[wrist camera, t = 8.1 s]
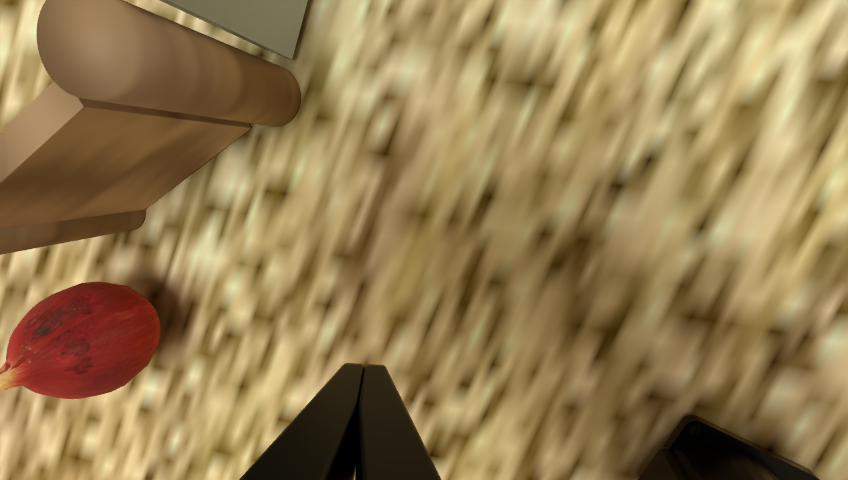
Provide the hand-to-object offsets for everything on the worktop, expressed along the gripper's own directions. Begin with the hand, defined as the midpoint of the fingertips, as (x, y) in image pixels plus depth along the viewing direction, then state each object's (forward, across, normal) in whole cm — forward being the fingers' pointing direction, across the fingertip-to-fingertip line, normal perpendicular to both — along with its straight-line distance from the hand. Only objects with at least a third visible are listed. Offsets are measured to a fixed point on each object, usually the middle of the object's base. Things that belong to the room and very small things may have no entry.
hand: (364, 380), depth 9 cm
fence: (+16, +11, -1) cm, 19 cm away
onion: (+16, +14, +9) cm, 23 cm away
